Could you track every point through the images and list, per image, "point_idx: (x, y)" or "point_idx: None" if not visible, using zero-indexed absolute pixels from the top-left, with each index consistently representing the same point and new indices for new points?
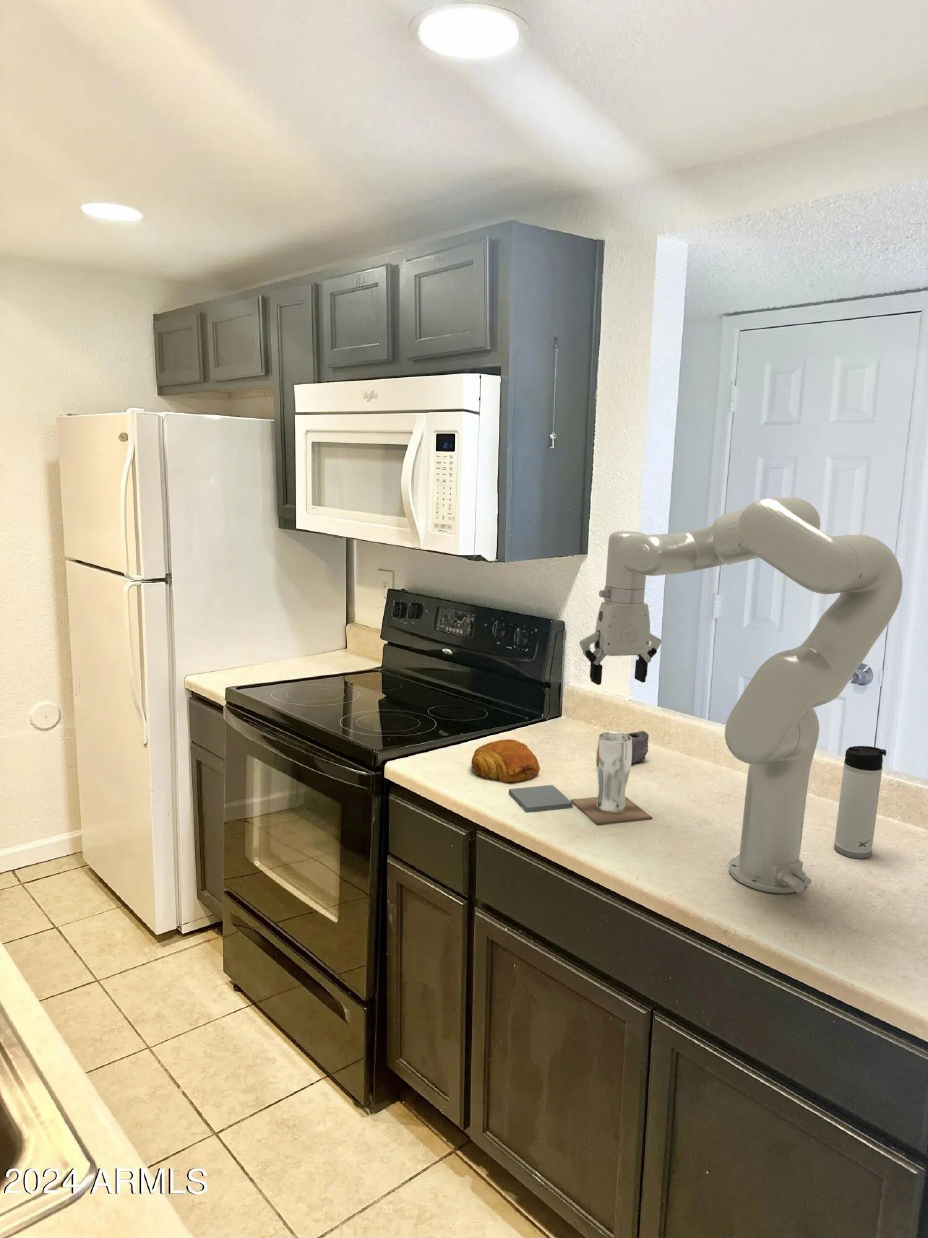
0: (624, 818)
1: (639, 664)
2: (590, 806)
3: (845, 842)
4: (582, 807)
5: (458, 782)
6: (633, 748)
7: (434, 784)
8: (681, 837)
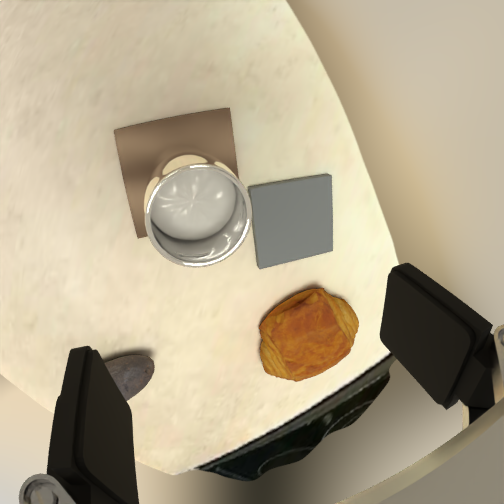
0: (169, 125)
1: (113, 475)
2: None
3: None
4: None
5: (374, 285)
6: None
7: None
8: (92, 54)
